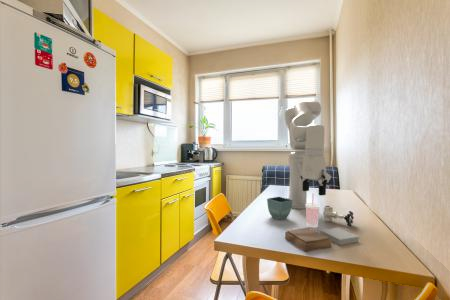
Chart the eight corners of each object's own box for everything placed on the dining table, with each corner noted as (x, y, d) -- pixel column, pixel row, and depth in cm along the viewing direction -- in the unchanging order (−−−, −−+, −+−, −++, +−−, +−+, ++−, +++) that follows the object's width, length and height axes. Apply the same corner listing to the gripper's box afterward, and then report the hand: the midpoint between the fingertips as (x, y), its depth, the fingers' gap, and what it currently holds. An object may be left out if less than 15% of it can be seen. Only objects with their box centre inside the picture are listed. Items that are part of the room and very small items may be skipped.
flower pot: (278, 213, 112) (278, 196, 111) (292, 218, 105) (293, 200, 104) (266, 216, 106) (266, 198, 106) (280, 222, 99) (281, 202, 99)
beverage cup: (306, 222, 100) (307, 191, 100) (321, 225, 97) (322, 193, 97) (302, 225, 95) (303, 193, 95) (317, 229, 92) (318, 195, 92)
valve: (320, 220, 103) (348, 228, 94) (320, 206, 103) (349, 213, 94) (326, 217, 107) (353, 224, 99) (326, 204, 107) (354, 210, 98)
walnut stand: (285, 238, 82) (285, 230, 82) (308, 234, 86) (308, 226, 86) (305, 251, 72) (305, 242, 72) (331, 246, 76) (331, 238, 76)
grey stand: (320, 235, 86) (320, 230, 86) (337, 232, 89) (338, 227, 89) (339, 245, 77) (340, 239, 77) (358, 241, 80) (358, 236, 80)
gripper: (294, 152, 102) (293, 189, 102) (323, 153, 86) (322, 197, 86) (307, 153, 105) (306, 189, 105) (337, 154, 89) (336, 196, 88)
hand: (313, 192), depth 95 cm, fingers open, 9 cm apart
